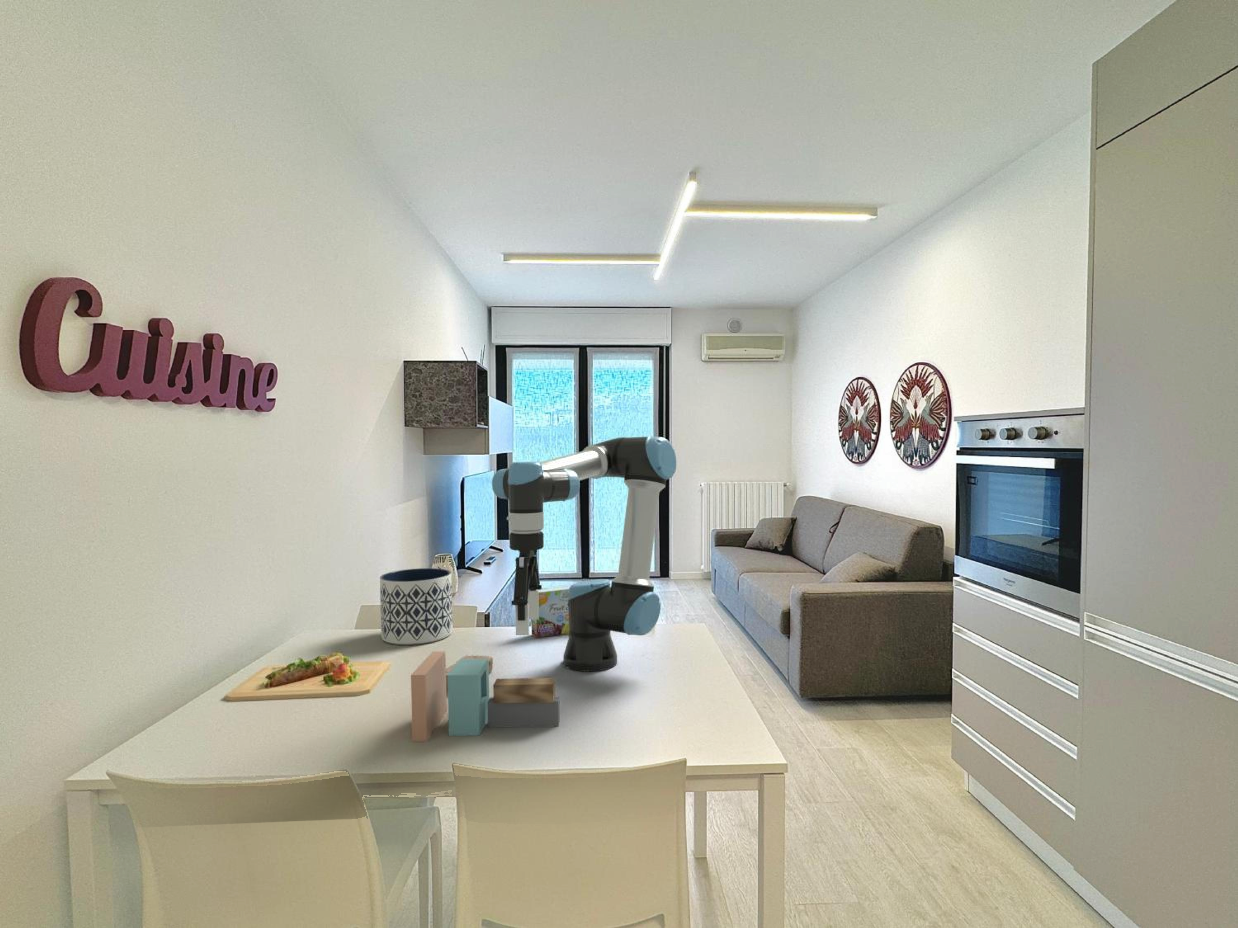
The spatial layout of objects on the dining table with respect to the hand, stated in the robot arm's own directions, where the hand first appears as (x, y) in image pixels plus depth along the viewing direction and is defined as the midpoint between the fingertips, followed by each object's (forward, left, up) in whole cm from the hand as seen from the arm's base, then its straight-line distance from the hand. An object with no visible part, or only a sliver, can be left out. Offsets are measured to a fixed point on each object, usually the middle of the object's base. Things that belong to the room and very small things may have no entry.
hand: (527, 626), depth 149 cm
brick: (+20, -27, -22) cm, 40 cm away
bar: (+1, +1, -16) cm, 16 cm away
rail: (+1, +1, -21) cm, 21 cm away
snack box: (-2, -72, -22) cm, 75 cm away
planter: (+46, -70, -22) cm, 86 cm away
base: (+22, +1, -21) cm, 31 cm away
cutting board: (+61, -28, -22) cm, 71 cm away
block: (+13, +1, -21) cm, 25 cm away
